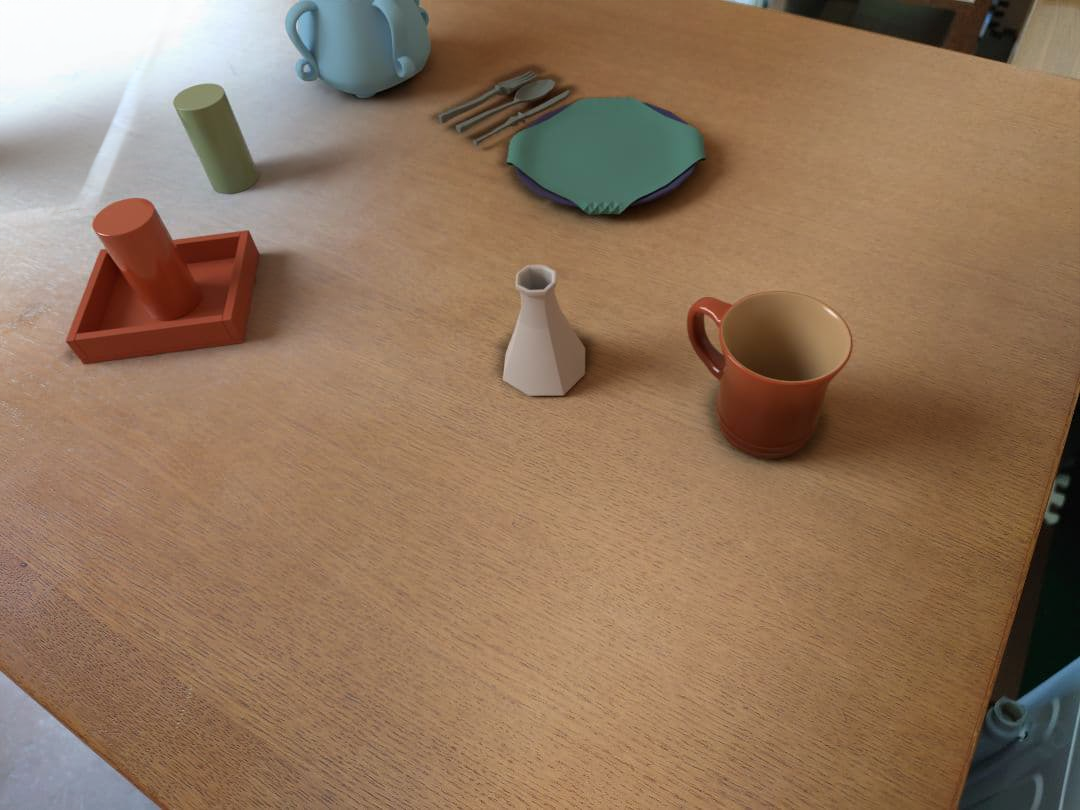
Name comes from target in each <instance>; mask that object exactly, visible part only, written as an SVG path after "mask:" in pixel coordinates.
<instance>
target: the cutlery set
mask: <svg viewBox="0 0 1080 810" xmlns="http://www.w3.org/2000/svg"><path fill="white" fill-rule="evenodd" d="M538 77H539V75H538V74H535V72H532V71H531V70H530V71H528V72H526V73H524V74H522V75H520V76H516V77H513V78H511V79H508V80H505V81H502V82H500V81H498V84H494V88H493V89H491V90H489V91H488V92H486V93H484V94H483V95H481V96H479V97H477V98H475V99H473V100H471V101H469V102H466V103H464V104H462V105H458V106H456V107H452V108H451V109H449V110H446V111H445V112H441V113H440V114H438V116H437V117H438V122H439V123H441V124H443V125H444V124H445V123H447V122H448V121H450V120H452V119H454V118H455V117H458V116H459V115H463V114H466V113H467V112H469V111H471V110H473V109H476V108H477V107H479V106H481V105H483V104H484V103H486V102H487V101H489V100H490V99H491V98H493V97H495V96H496V95H499V96H506V95H509V94H512V93H513V92H514V91H516V93H515V95H514V99H513V101H510V102H508V103H505V104H502V105H500V106H497V107H495V108H492V109H489V110H487V111H484V112H482V113H480V114H478V115H476V116H474V117H472V118H469V119H468V120H467V119H466V120H465V121H463V122H461V123H458V124H455V131H456V132H457V133H459V134H462V133H464V132H465V131H467V130H469V129H470V128H472V127H474V126H476V125H477V124H479V123H481V122H483V121H485V120H486V119H488V118H490V117H492V116H494V115H496V114H498V113H501V112H503V111H504V110H506V109H509V108H511V107H514V106H516V105H518V104H521V103H535V102H536V101H540V100H542V99H543V98H544V97H546V96H547V95H549V93H551V91H552V90H553V88H554V87H555V84H556V81H554V80H552V79H551V78H549V79H540V80H535V79H536V78H538ZM534 80H535V81H534ZM532 81H533V82H532ZM570 94H571V91H570V89H568V90H565V91H564V92H562V93H560V94H558V95H557V96H554V97H552V98H551V99H549V100H546V101H545V102H543V103H541V104H539V105H537V106H536V107H534V108H532V109H530V110H528V111H526V112H525V113H522V112H520V111H518V112H517V115H516V116H510V118H508V119H507V121H505V123H503V124H501V125H500V126H498V127H496V128H494V129H493V130H492V131H491V132H488V133H487V134H484V135H482V136H480V137H478V138H476V139H472V144H473V146H475V147H476V148H478V145H479V144H481V143H482V142H483V141H486V140H487V139H488V138H490V137H491V136H494V135H495V134H497V133H499V132H501V131H503V130H505V129H507V128H509V127H516V126H517V127H518V126H519V124H520V123H523V124H526V120H527V119H529V118H532V117H534V116H537V115H539V114H540V113H543V112H545V111H546V110H549V109H550V108H553V107H554V106H556V105H558V104H560V103H561V102H563V101H566V100H567V99H568V98H569V96H570ZM705 144H706V143H705V138H704V136H703V134H702V133H701V131H700V130H698V129H697V128H696V127H694V126H692V125H689V123H688V122H686V121H685V120H683V119H682V118H681V117H679V116H678V115H676V114H675V113H673V112H672V111H671V110H667V109H665V108H662V107H659V106H657V105H654V104H650V103H648V102H642V101H640V100H639V99H637V98H634V97H630V96H629V97H628V96H626V97H624V96H623V97H622V96H619V97H617V96H616V97H612V96H611V97H598V98H597V97H591V98H582V99H581V98H580V99H578V100H577V101H575V102H573V103H572V104H567V105H564V106H562V107H560V108H557V109H555V110H552V111H549V112H547V113H545V114H543V115H541V116H540V117H538V118H537V119H536V120H534V121H533V122H532V123H530V124H529V125H527V126H526V127H525V128H524V129H523V130H520V131H518V132H517V133H515V135H513V136H512V138H511V139H510V141H509V144H508V153H507V159H506V165H508V166H511V167H512V166H513V167H514V169H515V171H516V174H517V177H518V179H519V180H520V181H521V182H522V183H523V184H525V186H526V187H528V189H530V190H531V191H532V192H533V193H534V194H536V195H539V196H540V197H543V198H545V199H547V200H549V201H552V202H554V203H556V204H559V205H564V206H569V207H575V208H579V209H581V210H582V211H583V212H584V213H586V214H587V215H589V216H590V215H620V214H621V213H622V212H623V211H625V210H626V209H627V208H629V207H633V206H638V205H642V204H647V203H650V202H652V201H655V200H657V199H659V198H661V197H664V196H666V195H668V194H670V193H672V192H674V191H675V190H677V189H678V188H679V187H680V186H681V185H682V184H683V183H685V182H686V181H687V180H688V179H689V178H690V177H691V176H692V175H693V173H694V170H695V168H696V166H697V164H698V162H699V163H700V162H704V161H706V160H707V156H706V150H705Z"/></svg>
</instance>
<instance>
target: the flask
mask: <svg viewBox="0 0 1080 810" xmlns="http://www.w3.org/2000/svg"><path fill="white" fill-rule="evenodd" d="M557 279H558V272H557V270H555V269H554V268H551V267H549V266H548V265H545V264H527V265H526V266H524V267H523V268H522V269H521V270H519V271H518V272H517V273H516V275H515V285H514V287H515V290H516V291H518V292H519V295H520V312H519V315H518V317H517V321H516V324H515V327H514V330H513V333H512V336H511V338H510V340H509V343H508V346H507V348H506V352H505V356H504V365H503V373H502V374H503V375H502V381H504V382H505V383H507V384H508V385H511V386H512V387H514V388H515V389H517V390H518V391H520V392H522V393H524V394H525V395H526V396H529V397H530V396H532V397H533V396H537V397H538V396H564V395H566V394H567V393H568V392H569V391H570V390H571V389H572V388H573V387H574V386H575V385H576V383H578V382H579V381H580V380H581V379H582V377H584V376H585V375H586V348H585V345H584V344H583V342H582V341H581V339H580V337H579V336H578V335H577V333H576V332H575V331H574V328H572V326H571V324H570V323H569V321H568V319H567V317H566V315H565V314H564V312H563V311H562V309H561V308H560V307H561V306H560V305H559V301H558V299H557V295H556V291H555V289H556V287H557Z"/></svg>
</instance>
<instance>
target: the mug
mask: <svg viewBox="0 0 1080 810" xmlns="http://www.w3.org/2000/svg"><path fill="white" fill-rule="evenodd" d="M705 316H708V317H709V318H710V319H711V320H712V321H713V322H714V323H715V325H716V326H717V328H718V340H719V344H720V347H721V350H722V352H720V351H719V350H718V349H717V348H716V347H715V346H714V345H713V344H712V342H711V341H710V338H709V336H708V334H707V331H706V324H705V323H706V322H705ZM686 331H687V335H688V340H689V343H690V345H691V347H692V349H693V351H694V352H695V354H696V356H697V357H698V358H699V359H700V361H701V362H702V363H703V364H704V366H705V367H706V368H707V370H708V372H710V374H711V375H712V376H713V377H714V378H715V379H717V380H718V382H719V386H718V392H717V396H716V403H715V405H716V417H717V422H718V428H719V430H720V432H721V435H722V436H723V438H724V439H725V440H726V441H727V443H729V444H730V445H731V446H732V447H733V448H734V449H736V450H738V451H739V452H741V453H743V454H745V455H747V456H751V457H754V458H757V459H758V458H759V459H766V460H770V459H779V458H784V457H787V456H790V455H792V454H794V453H796V452H798V451H799V450H800V449H801V448H802V447H804V445H805V444H806V442H807V441H808V440H809V439H810V438H811V436H812V434H813V433H814V431H815V429H816V428H817V426H818V423H819V418H820V415H821V412H822V409H823V405H824V402H825V398H826V393H827V391H828V387H829V384H830V383H831V381H833V380H834V378H835V377H836V376H837V375H838V374H839V373H840V372H841V371H842V370H843V369H844V368H845V367H846V365H847V364H848V362H849V360H850V358H851V356H852V352H853V348H854V347H853V346H854V342H853V336H852V335H853V334H852V332H851V329H850V327H849V325H848V324H847V322H846V321H845V319H844V318H843V317H842V316H841V315H840V314H839V313H838V312H837V311H836V310H835V309H834V308H832V306H830V305H828V304H827V303H825V302H823V301H821V300H820V299H817V298H814V297H812V296H810V295H807V294H802V293H799V292H793V291H786V290H785V291H784V290H772V291H762V292H757V293H752V294H749V295H747V296H744V297H743V298H741V299H739V300H737V301H736V302H734V303H733V304H732V303H729V302H726V301H723V300H720V299H719V298H716V297H713V296H703V297H701V298H699V299H698V300H697V301H695V302H694V303H693V304H692V305H691V306H690V307H689V310H688V312H687V317H686Z"/></svg>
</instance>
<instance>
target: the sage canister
mask: <svg viewBox="0 0 1080 810" xmlns="http://www.w3.org/2000/svg"><path fill="white" fill-rule="evenodd" d="M172 104H173V106H174V109H175V111H176V114H177V116H178V117H179V120H180V121H181V123H182V125H183V128H184V130H185V132H186V134H187V136H188V139H189V140H190V142H191V145H192V148H193V149H194V151H195V153H196V155H197V157H198V159H199V162H200V164H201V166H202V169H203V170H204V172H205V174H206V177H207V178H208V181H209V182H210V185H211V187H212V190H214V191H215V192H217V193H220V194H225V195H230V194H238V193H240V192H243V191H246V190H248V189H249V188H251V187H253V186H254V185H255V184H256V183H257V181H258V179H259V171H258V168H257V166H256V163H255V160H254V159H253V156H252V154H251V152H250V149H249V147H248V144H247V141H246V139H245V136H244V134H243V133H242V129H241V127H240V125H239V122H238V120H237V117H236V115H235V113H234V110H233V108H232V105H231V103H230V100H229V98H228V96H227V93H226V91H225V88H224V87H223V86H222V85H220V84H218V83H217V84H216V83H208V82H207V83H199V84H195V85H192V86H189V87H187V88H185V89H183V90H181V91H179V93H177V94H176V96H174V98H173V100H172Z"/></svg>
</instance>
